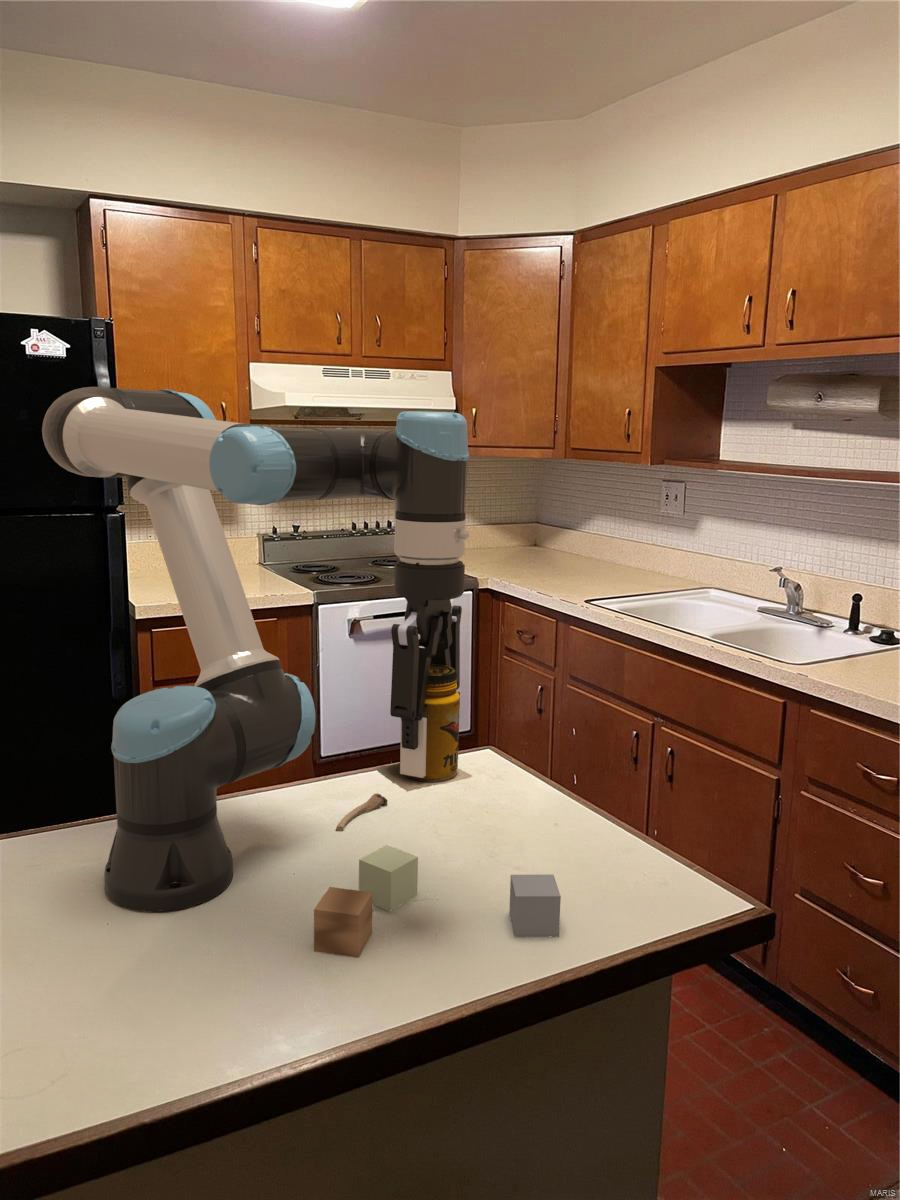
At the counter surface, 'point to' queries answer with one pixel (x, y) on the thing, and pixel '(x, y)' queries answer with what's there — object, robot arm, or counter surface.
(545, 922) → the slate cube
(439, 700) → the condiment
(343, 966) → the counter surface
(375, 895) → the sage cube
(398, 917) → the counter surface
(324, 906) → the walnut cube
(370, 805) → the bone
